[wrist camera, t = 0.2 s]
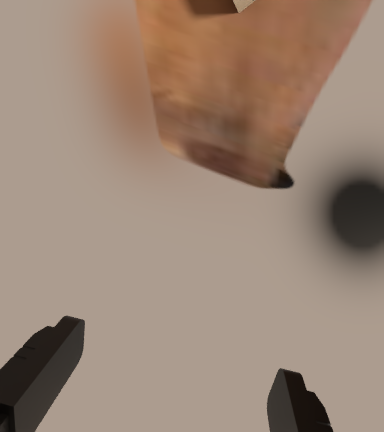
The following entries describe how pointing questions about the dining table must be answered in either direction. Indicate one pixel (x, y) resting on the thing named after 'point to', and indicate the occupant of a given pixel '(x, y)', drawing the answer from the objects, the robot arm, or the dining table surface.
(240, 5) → the socket block
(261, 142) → the dining table surface
